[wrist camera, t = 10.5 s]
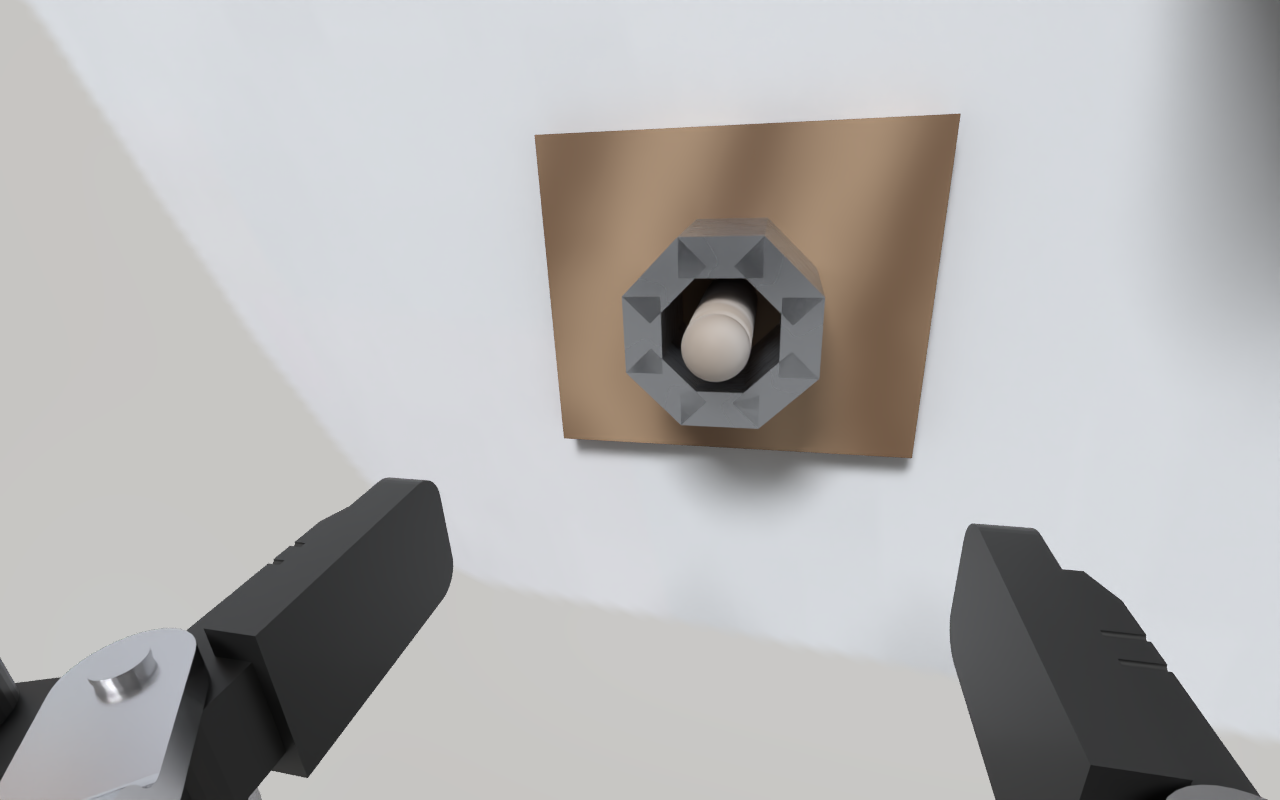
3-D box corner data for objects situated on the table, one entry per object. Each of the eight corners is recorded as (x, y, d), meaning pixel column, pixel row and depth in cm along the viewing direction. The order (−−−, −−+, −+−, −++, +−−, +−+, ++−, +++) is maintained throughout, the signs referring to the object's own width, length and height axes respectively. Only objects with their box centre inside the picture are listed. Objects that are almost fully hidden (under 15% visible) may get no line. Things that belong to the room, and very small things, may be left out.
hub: (820, 216, 21) (829, 234, 17) (809, 380, 23) (815, 431, 19) (648, 220, 22) (618, 238, 18) (653, 375, 25) (628, 422, 21)
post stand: (950, 115, 20) (1039, 102, 13) (906, 444, 25) (954, 562, 18) (546, 135, 23) (445, 132, 16) (572, 426, 28) (502, 522, 21)
